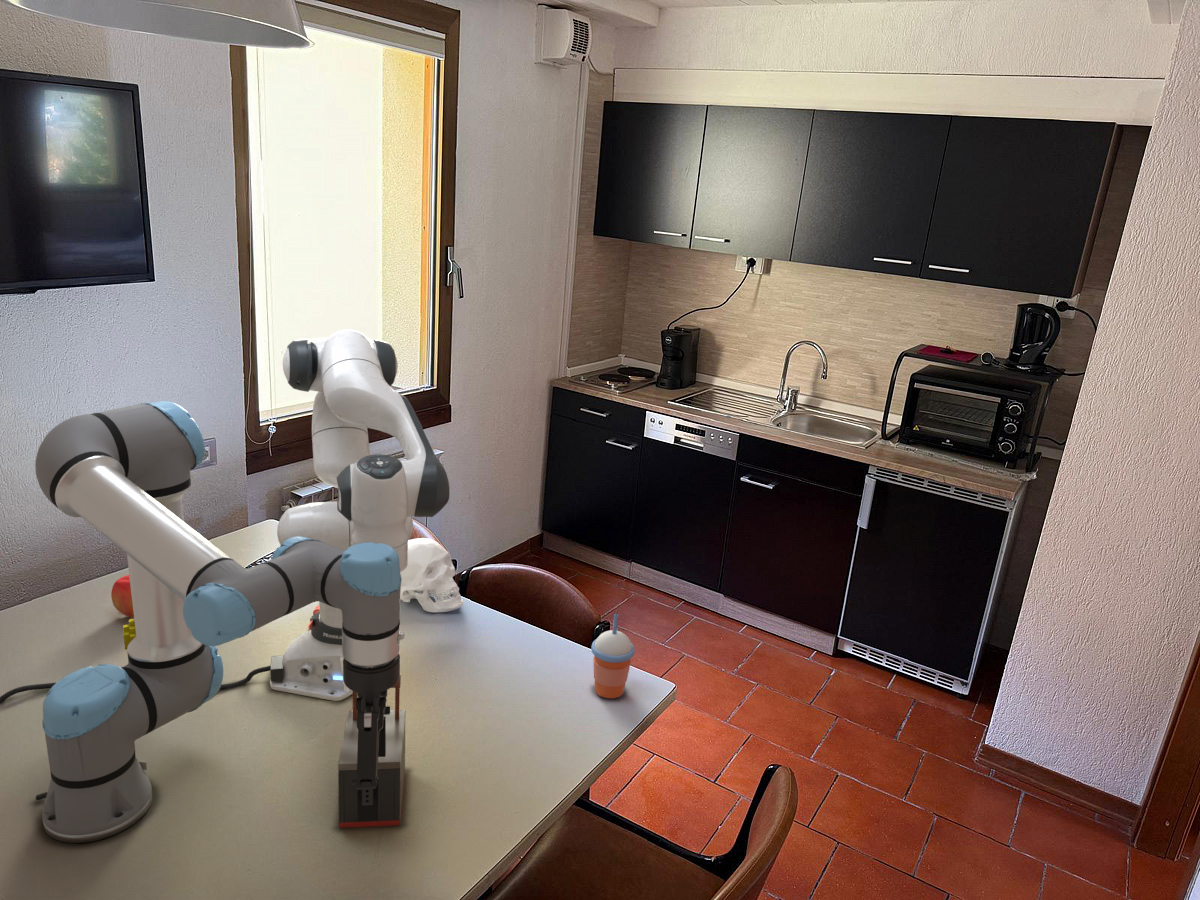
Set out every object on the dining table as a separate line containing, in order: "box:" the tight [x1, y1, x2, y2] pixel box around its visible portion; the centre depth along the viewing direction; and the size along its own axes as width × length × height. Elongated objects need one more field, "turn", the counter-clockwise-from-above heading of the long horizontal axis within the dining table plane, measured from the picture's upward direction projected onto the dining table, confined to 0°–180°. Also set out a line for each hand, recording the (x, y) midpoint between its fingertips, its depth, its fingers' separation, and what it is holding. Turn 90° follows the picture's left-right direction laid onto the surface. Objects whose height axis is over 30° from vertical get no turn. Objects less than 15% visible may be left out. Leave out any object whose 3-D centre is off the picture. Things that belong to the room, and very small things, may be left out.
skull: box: [400, 537, 465, 614], centre depth 211 cm, size 13×22×16 cm, turn 67°
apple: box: [110, 574, 134, 619], centre depth 194 cm, size 10×10×10 cm
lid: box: [337, 674, 407, 771], centre depth 141 cm, size 14×10×10 cm
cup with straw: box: [590, 613, 636, 699], centre depth 179 cm, size 9×9×18 cm
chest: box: [337, 727, 406, 829], centre depth 144 cm, size 13×10×11 cm
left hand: (372, 785), depth 122 cm, fingers open, 13 cm apart
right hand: (379, 631), depth 142 cm, fingers open, 8 cm apart
